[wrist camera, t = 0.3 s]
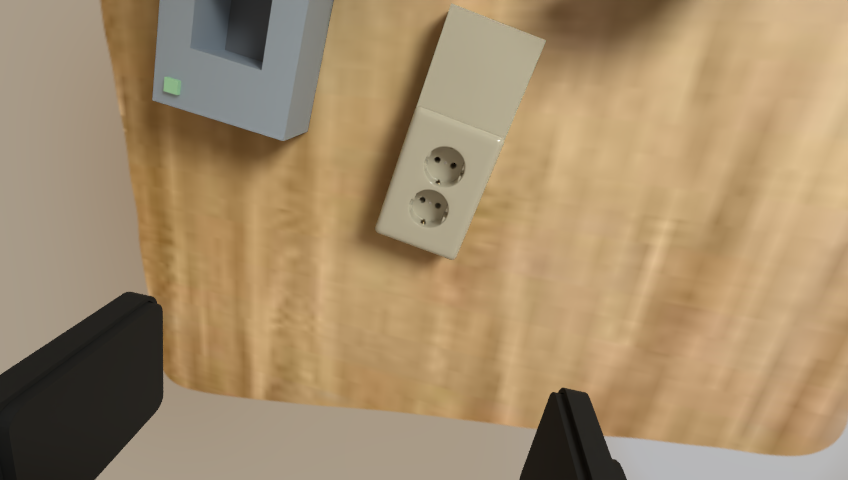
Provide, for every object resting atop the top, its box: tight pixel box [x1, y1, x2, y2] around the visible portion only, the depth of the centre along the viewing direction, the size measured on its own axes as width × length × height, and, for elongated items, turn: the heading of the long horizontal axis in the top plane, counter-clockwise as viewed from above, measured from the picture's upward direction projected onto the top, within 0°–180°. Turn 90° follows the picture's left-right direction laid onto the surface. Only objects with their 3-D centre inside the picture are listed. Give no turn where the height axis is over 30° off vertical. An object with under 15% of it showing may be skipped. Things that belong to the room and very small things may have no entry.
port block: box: [152, 0, 334, 141], centre depth 34 cm, size 14×10×6 cm
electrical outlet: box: [375, 4, 546, 260], centre depth 37 cm, size 7×4×18 cm
